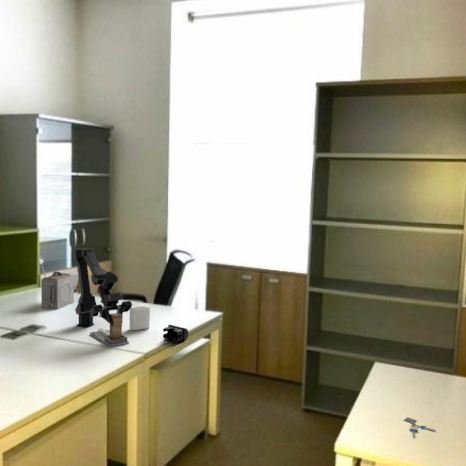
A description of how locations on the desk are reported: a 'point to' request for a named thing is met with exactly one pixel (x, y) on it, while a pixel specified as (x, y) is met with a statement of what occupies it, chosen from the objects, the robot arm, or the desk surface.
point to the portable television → (58, 289)
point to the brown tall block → (116, 326)
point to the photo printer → (139, 317)
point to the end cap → (175, 334)
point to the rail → (105, 338)
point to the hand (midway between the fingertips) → (117, 324)
